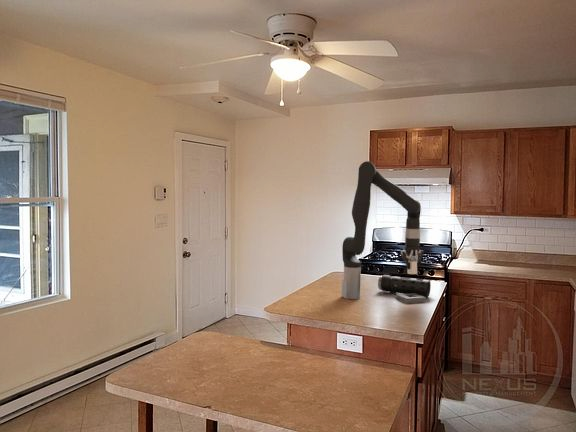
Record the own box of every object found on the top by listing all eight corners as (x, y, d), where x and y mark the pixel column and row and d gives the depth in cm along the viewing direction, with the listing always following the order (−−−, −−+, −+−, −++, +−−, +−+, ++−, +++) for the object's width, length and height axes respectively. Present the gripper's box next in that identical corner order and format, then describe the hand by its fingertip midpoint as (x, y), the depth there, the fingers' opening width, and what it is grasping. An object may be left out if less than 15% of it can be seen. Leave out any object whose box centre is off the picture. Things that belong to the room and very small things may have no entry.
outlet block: (406, 303, 228) (406, 298, 228) (396, 298, 237) (396, 294, 237) (425, 302, 231) (425, 297, 231) (414, 297, 241) (415, 293, 241)
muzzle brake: (426, 299, 237) (427, 281, 236) (377, 293, 251) (377, 275, 250) (430, 296, 245) (431, 278, 245) (382, 290, 259) (382, 273, 258)
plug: (412, 274, 229) (411, 259, 230) (407, 273, 234) (407, 258, 234) (417, 273, 230) (416, 258, 231) (412, 273, 234) (412, 258, 235)
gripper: (404, 238, 226) (403, 270, 227) (428, 237, 230) (427, 269, 231) (397, 236, 233) (396, 268, 234) (419, 236, 237) (419, 267, 238)
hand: (411, 268), depth 233 cm, fingers closed on plug, 3 cm apart
